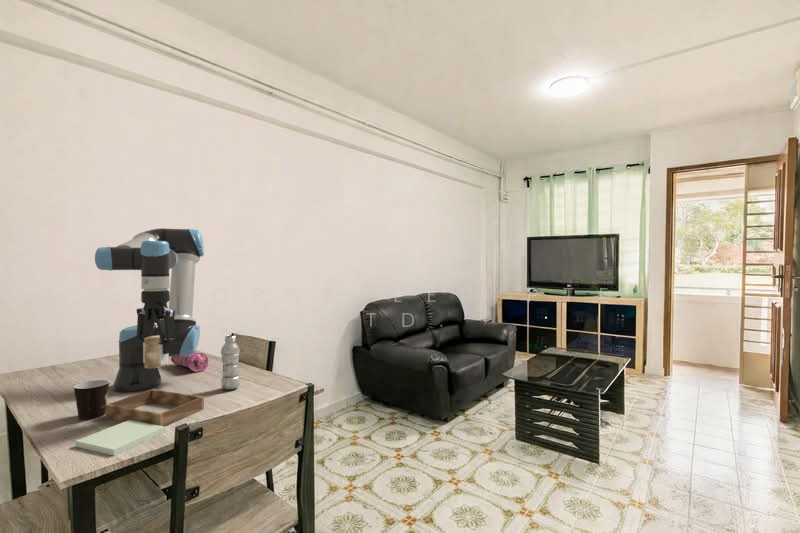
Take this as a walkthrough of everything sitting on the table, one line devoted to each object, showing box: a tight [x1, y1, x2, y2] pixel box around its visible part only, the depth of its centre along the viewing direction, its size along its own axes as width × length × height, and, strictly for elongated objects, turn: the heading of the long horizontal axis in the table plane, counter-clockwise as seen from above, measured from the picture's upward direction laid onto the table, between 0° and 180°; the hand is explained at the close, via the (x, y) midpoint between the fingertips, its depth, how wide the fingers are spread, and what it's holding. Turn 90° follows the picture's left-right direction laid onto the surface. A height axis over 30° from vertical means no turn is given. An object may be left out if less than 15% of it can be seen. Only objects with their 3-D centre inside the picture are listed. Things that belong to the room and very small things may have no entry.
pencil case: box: [170, 350, 209, 373], centre depth 173 cm, size 21×9×9 cm, turn 52°
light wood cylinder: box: [144, 336, 168, 369], centre depth 122 cm, size 6×6×9 cm
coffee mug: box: [73, 379, 110, 421], centre depth 118 cm, size 12×9×10 cm
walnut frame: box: [104, 388, 205, 428], centre depth 122 cm, size 23×16×4 cm
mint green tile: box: [75, 420, 166, 456], centre depth 104 cm, size 14×14×2 cm
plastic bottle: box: [220, 334, 241, 391], centre depth 145 cm, size 6×7×20 cm
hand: (156, 362), depth 122 cm, fingers closed on light wood cylinder, 6 cm apart
